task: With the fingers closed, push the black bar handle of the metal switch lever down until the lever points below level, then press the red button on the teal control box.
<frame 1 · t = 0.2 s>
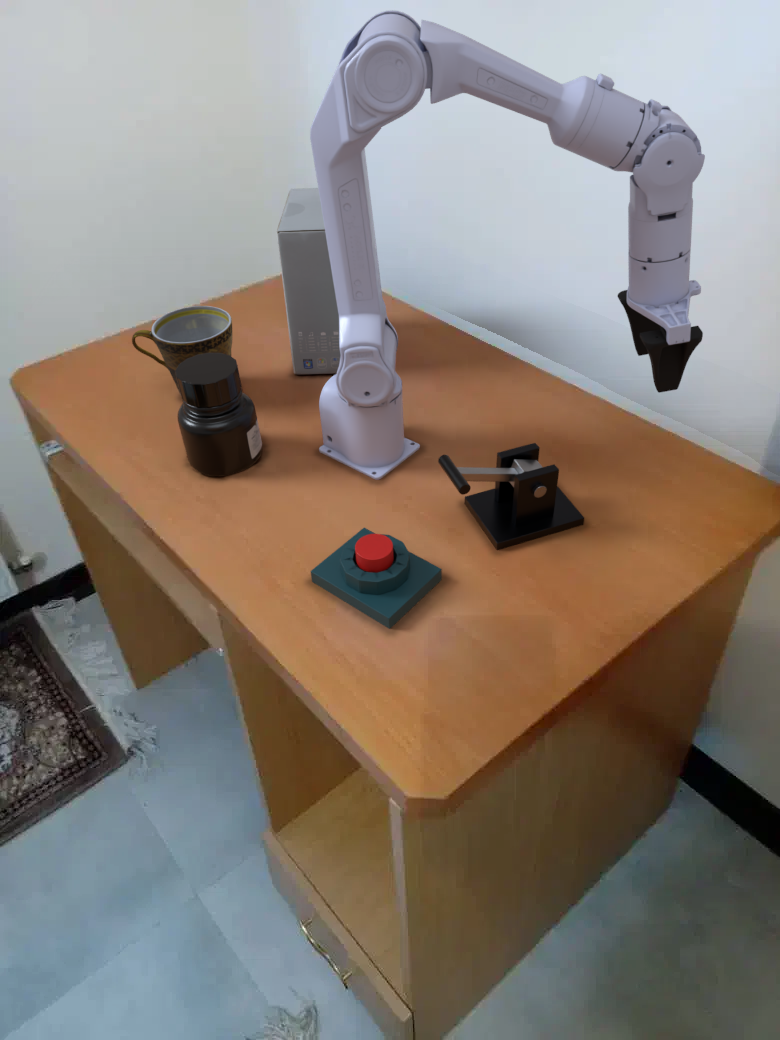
hand: (656, 370, 85), 11 cm above the table, tool pointing down, fingers open, 7 cm apart
switch lever: (494, 474, 79), point 7 cm above the table, hinge at 18.0°
power button: (374, 552, 75), point 4 cm above the table, slide at 0.1 cm
ceramic cup: (196, 393, 106), on the table
hard drive box: (326, 348, 113), on the table
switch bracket: (522, 515, 84), on the table
ink bottle: (226, 456, 95), on the table
button box: (376, 582, 78), on the table
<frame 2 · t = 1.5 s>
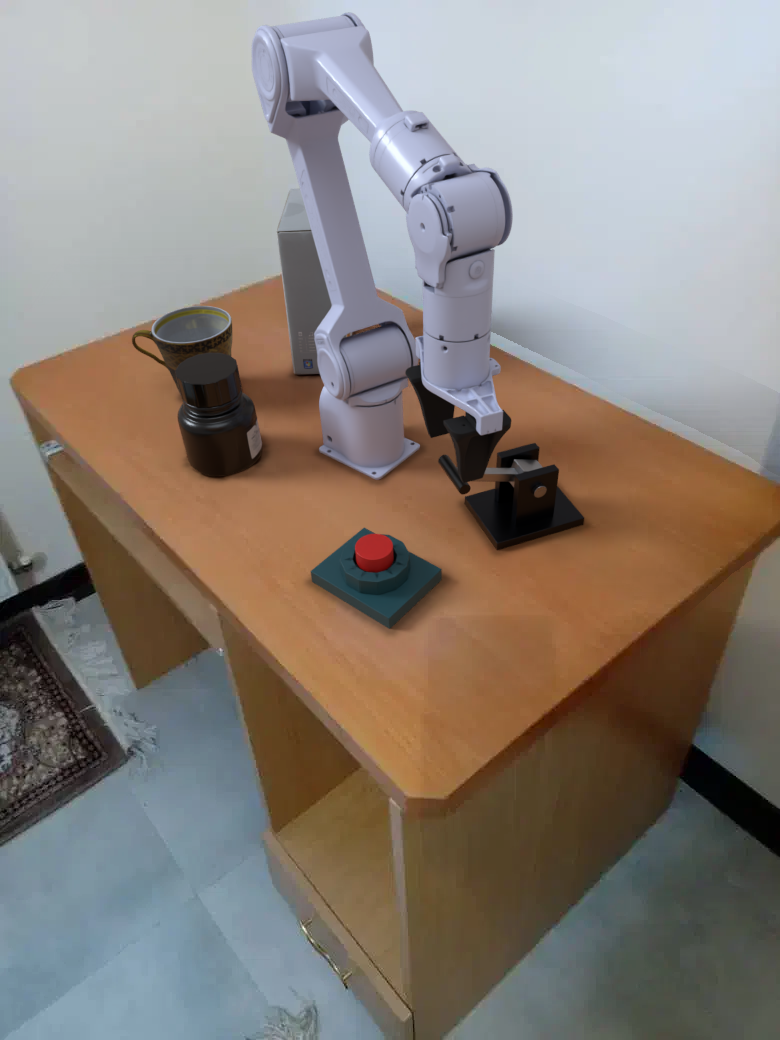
hand: (454, 455, 76), 10 cm above the table, tool pointing down, fingers open, 7 cm apart
nothing on the table moved.
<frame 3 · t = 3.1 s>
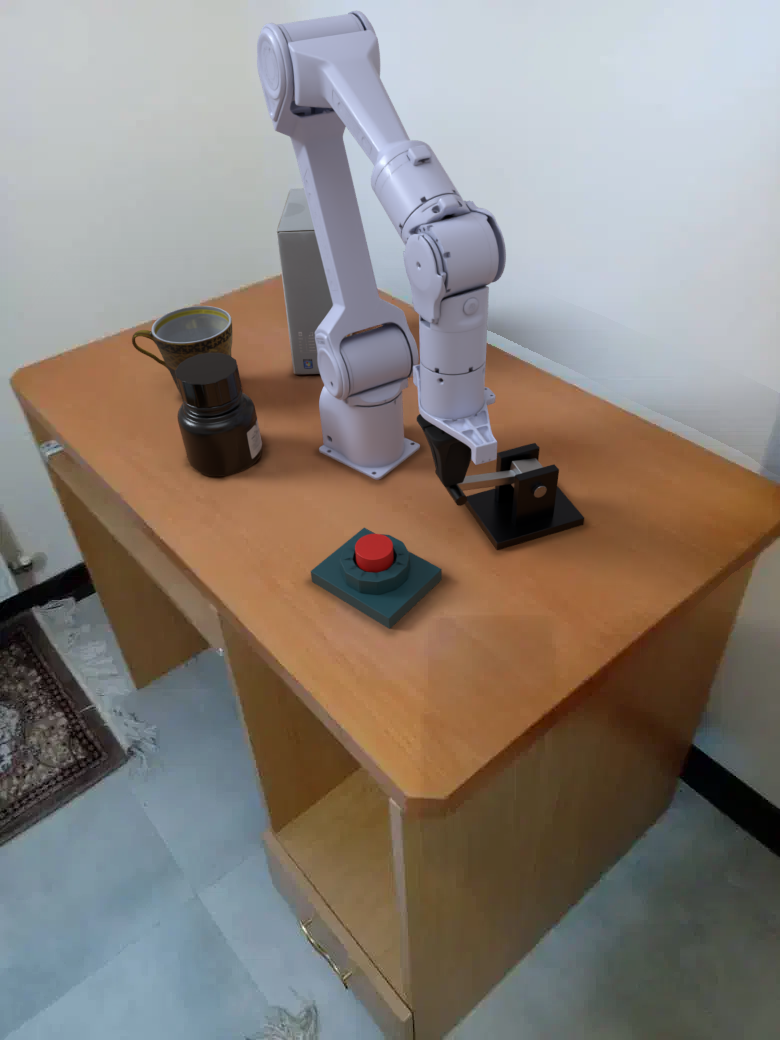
hand: (451, 480, 77), 7 cm above the table, tool pointing down, fingers closed, pressing on switch lever
switch lever: (492, 479, 79), point 6 cm above the table, hinge at 9.0°, touching gripper
everything else where it was.
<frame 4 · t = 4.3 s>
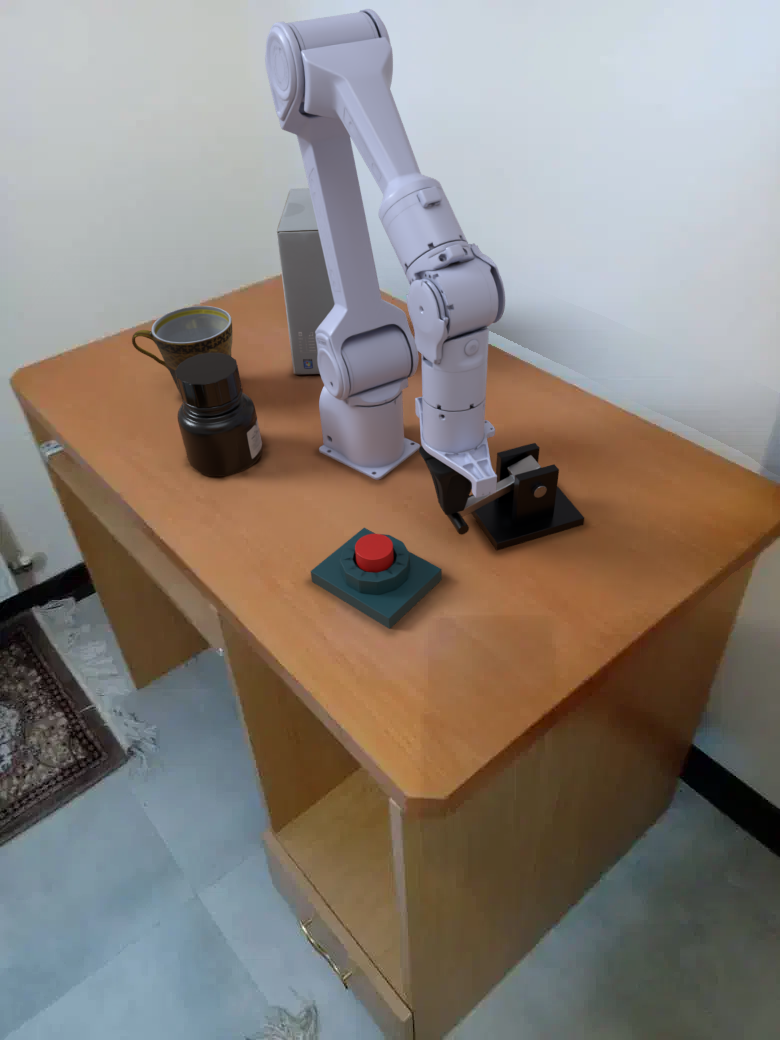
hand: (452, 508, 80), 4 cm above the table, tool pointing down, fingers closed, pressing on switch lever
switch lever: (493, 492, 81), point 4 cm above the table, hinge at -17.5°, touching gripper
everything else where it was.
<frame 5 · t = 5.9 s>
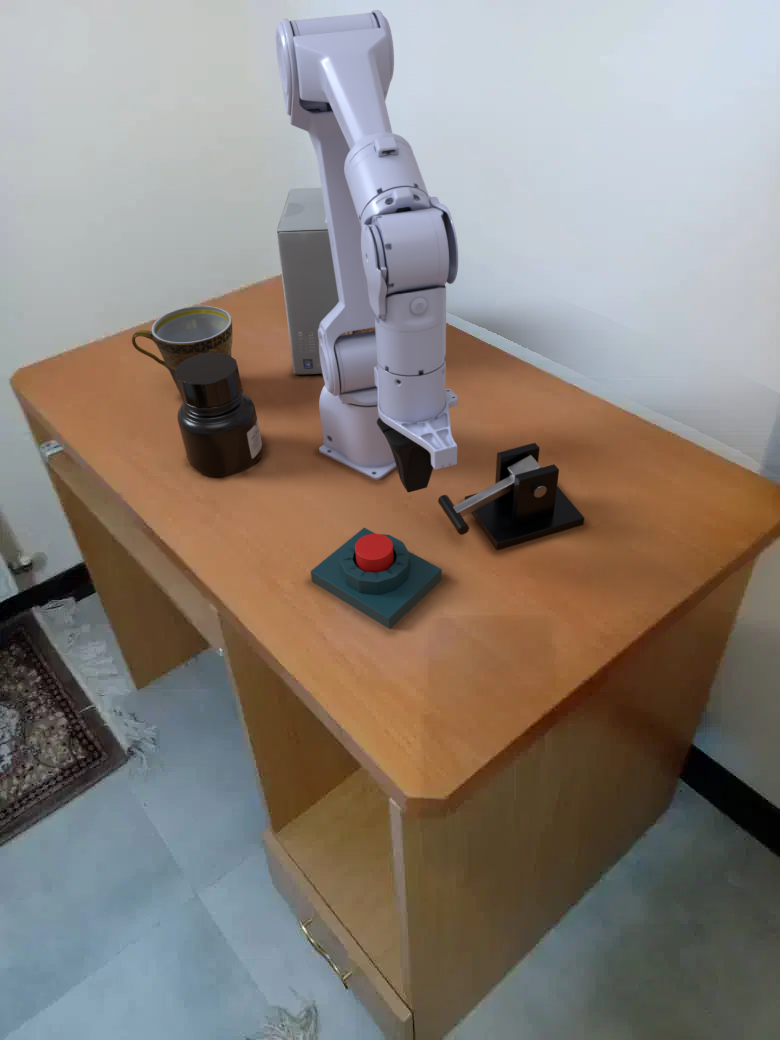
hand: (415, 485, 75), 9 cm above the table, tool pointing down, fingers closed
switch lever: (493, 492, 81), point 4 cm above the table, hinge at -17.6°
everything else where it was.
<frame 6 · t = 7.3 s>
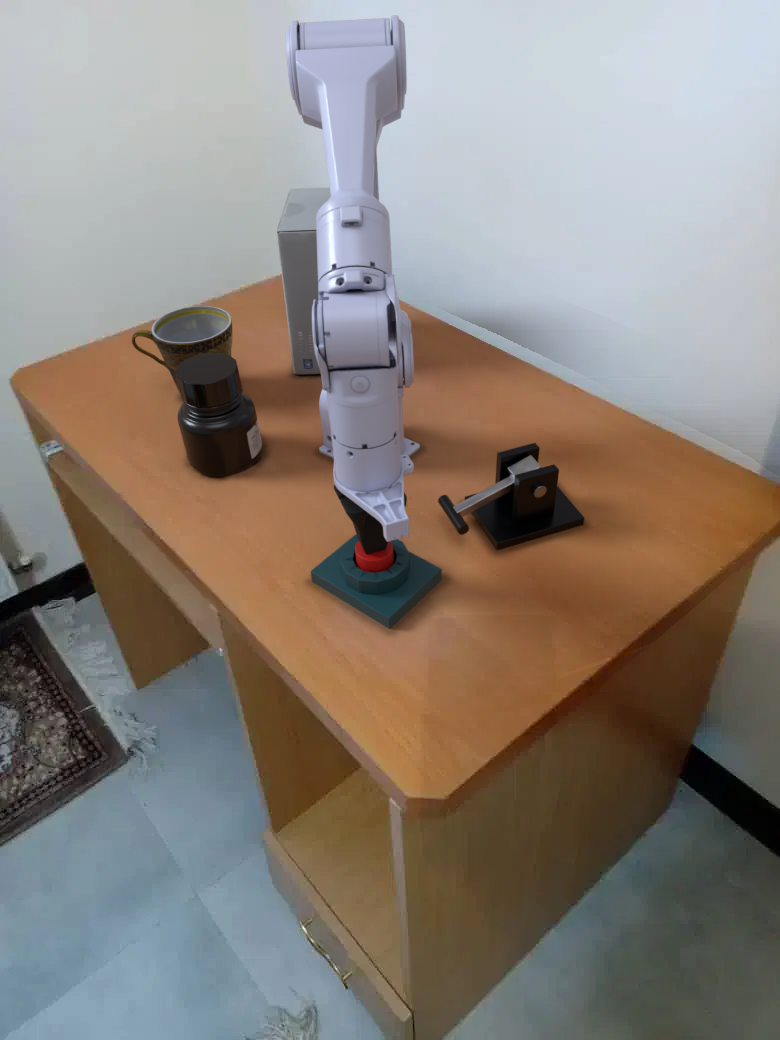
hand: (374, 547, 75), 5 cm above the table, tool pointing down, fingers closed, pressing on power button
power button: (374, 553, 75), point 4 cm above the table, slide at 0.0 cm, touching gripper
everything else where it was.
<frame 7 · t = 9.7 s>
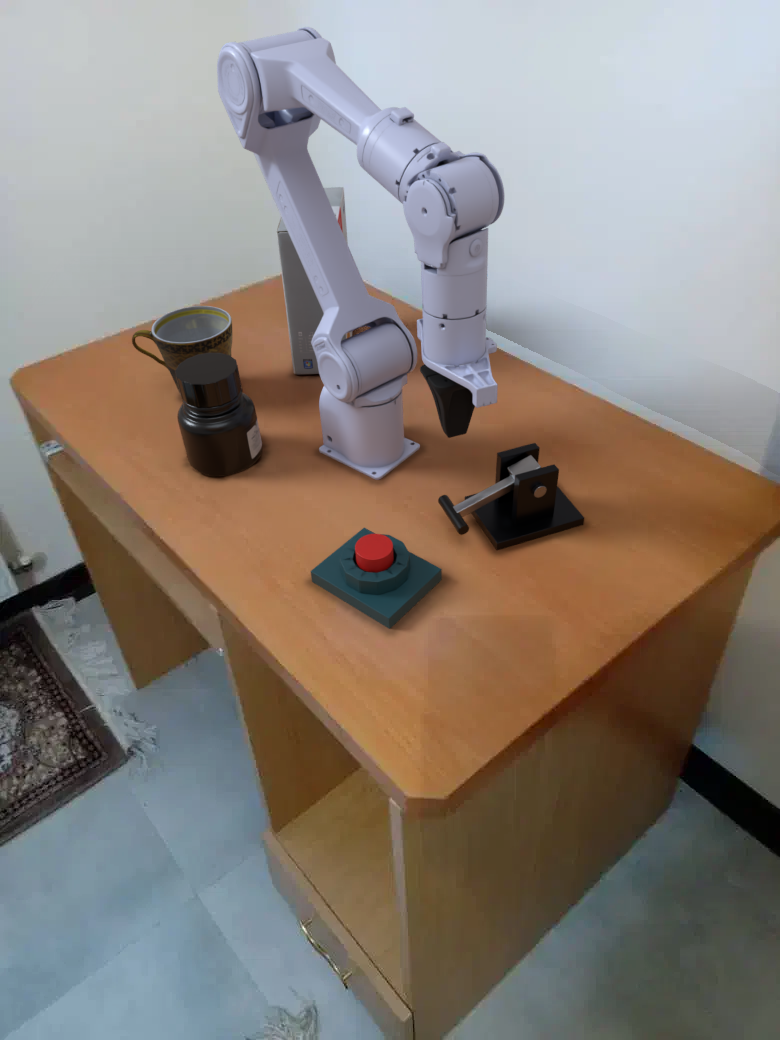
hand: (454, 432, 79), 10 cm above the table, tool pointing down, fingers closed
power button: (374, 552, 75), point 4 cm above the table, slide at 0.1 cm
everything else where it was.
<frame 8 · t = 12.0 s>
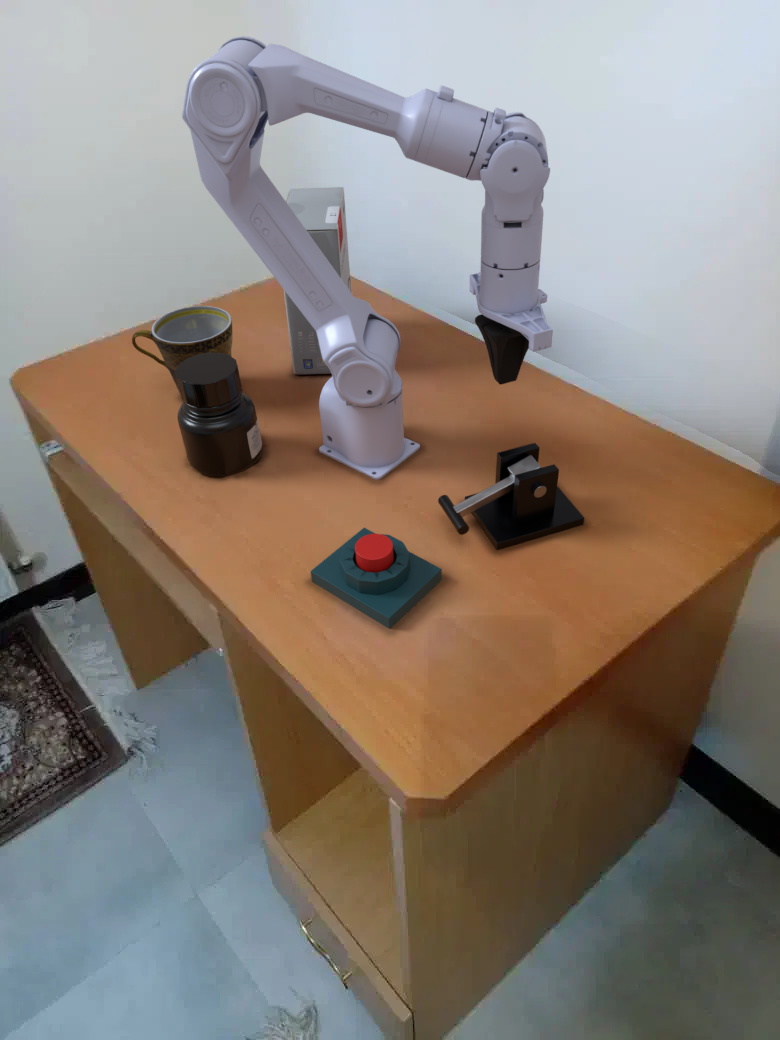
hand: (505, 379, 85), 10 cm above the table, tool pointing down, fingers closed
nothing on the table moved.
at the end: switch lever at -18° (first picture: +18°); power button pushed in 1.1 cm at the most during the clip, back to where it started at the end; power button slide at 0.1 cm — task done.
